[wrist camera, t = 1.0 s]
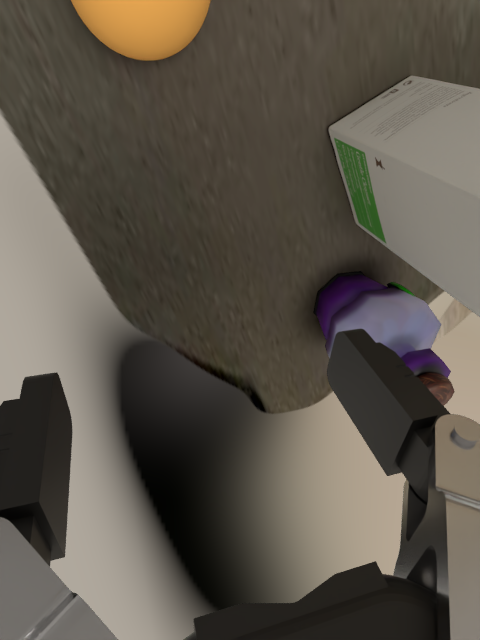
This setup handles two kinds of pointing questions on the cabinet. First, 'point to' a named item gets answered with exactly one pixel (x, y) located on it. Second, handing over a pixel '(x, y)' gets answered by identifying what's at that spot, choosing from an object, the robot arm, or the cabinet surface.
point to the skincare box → (419, 178)
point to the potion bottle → (385, 324)
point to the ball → (143, 25)
